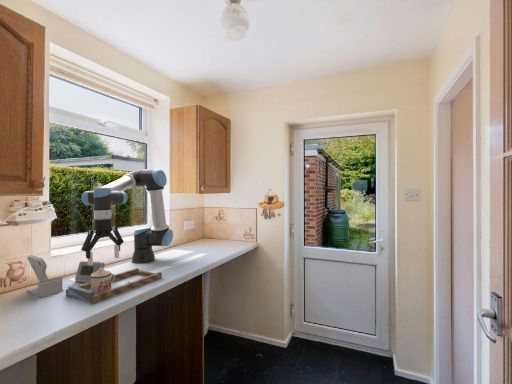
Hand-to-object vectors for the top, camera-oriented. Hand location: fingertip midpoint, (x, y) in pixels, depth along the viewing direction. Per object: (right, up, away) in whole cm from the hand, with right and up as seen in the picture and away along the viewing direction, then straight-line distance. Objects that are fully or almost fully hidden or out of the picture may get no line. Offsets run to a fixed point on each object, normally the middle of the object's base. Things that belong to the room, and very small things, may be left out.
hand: (104, 261), depth 134 cm
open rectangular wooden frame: (+4, -15, +6) cm, 16 cm away
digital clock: (-16, -15, +14) cm, 26 cm away
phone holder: (-30, -15, +1) cm, 33 cm away
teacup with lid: (0, -15, 0) cm, 15 cm away
